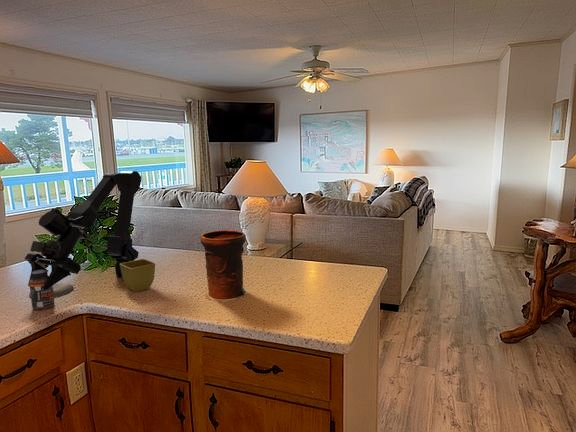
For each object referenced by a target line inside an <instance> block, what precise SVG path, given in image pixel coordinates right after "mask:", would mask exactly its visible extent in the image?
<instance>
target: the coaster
mask: <svg viewBox="0 0 576 432" xmlns="http://www.w3.org/2000/svg"><path fill="white" fill-rule="evenodd" d="M72 291H74V285H73V284H70V283H64V282H63V283H62V282H61V283H56V284H54V285H53V292H54V298H57V297H61V296H65V295H67V294H69V293H71V292H72ZM28 295H29V296H28V297H29V298H31V293H30V292H28Z"/></svg>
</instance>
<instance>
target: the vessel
mask: <svg viewBox="0 0 576 432" xmlns="http://www.w3.org/2000/svg"><path fill="white" fill-rule="evenodd" d="M199 239H200V240H199V242H200V244H201V245H202V246H203V247H204V252H205V253H204V256H205V258H204V259H205V270H206V279H207V288H208V289H207V290H208V291H207V292H206V293H205V296H206V298H207V300H212V301H214V302H228V301H234V300H236V299H238V298H240V297H244V296H245V295H246V293H247V291H246V290H245V287H244V274H243V272H244V263H243V262H244V260H243V253H244V250H245V249H244V244H245V242H246V239H247V238H246V234H245V233H244V232H243V231H239V230H238V231H237V230H234V229H233V230H232V229H220V230H213V231H206V232H203V233H202V234H200V236H199Z"/></svg>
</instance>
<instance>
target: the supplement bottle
mask: <svg viewBox="0 0 576 432" xmlns="http://www.w3.org/2000/svg"><path fill="white" fill-rule="evenodd" d="M47 270H48V269H47ZM47 270H37V271H34V272H32V279H31V280H30V282H29V281H28V283H29V285H30V287H29V293H31V297H30V299H31V308H32V309H33V310H35V311H42V310H47V309H51V308H53V307H54V306H55V297H54V292H53V286H51V287H50V288H48V289H47V290H44V289H43V287H44V284H45V282H46V280H47V279H48V277H49V275H48V273H49V272H47Z"/></svg>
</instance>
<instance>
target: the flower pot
mask: <svg viewBox="0 0 576 432" xmlns="http://www.w3.org/2000/svg"><path fill="white" fill-rule="evenodd" d="M120 268H121V272H122V277H121V278H122V279H123V281H124V283H125V285H126V287H127V288H128V289H130V290H131V291H133V292H136V293H137V292H140V291H143V290H148V289H150V288H151V286H152V285H153V282H154V279H155V272H156V263H155V262H153V261H151V260H148V259H146V258H141V259H135V260H134V261H130V262H125V263H121V264H120Z"/></svg>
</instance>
